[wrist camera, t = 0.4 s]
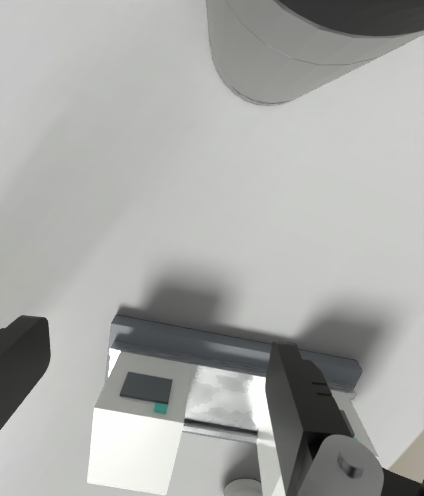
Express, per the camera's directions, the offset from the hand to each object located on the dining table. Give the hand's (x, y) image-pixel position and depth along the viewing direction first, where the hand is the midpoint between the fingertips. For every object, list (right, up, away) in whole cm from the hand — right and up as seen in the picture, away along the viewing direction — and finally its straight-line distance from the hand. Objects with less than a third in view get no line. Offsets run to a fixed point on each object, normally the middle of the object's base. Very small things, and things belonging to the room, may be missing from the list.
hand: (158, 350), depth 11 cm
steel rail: (+3, -12, +22) cm, 25 cm away
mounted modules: (+3, -12, +21) cm, 25 cm away
